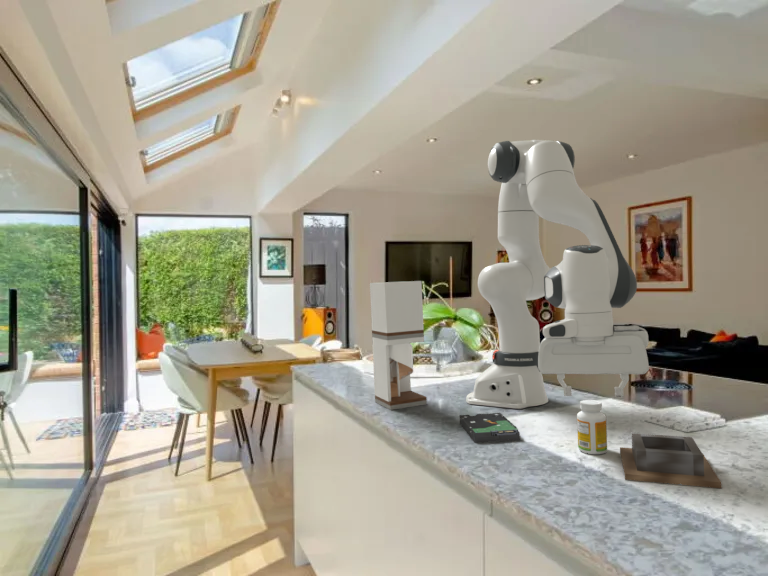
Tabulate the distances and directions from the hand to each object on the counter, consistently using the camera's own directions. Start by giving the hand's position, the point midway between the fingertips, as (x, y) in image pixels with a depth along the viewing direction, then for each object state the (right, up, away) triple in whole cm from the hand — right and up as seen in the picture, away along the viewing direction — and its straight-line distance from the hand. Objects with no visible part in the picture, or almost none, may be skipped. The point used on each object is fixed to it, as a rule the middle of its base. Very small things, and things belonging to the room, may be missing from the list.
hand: (593, 396), depth 101 cm
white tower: (-37, -12, +46) cm, 60 cm away
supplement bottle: (0, -11, +1) cm, 11 cm away
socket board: (+9, -11, -10) cm, 17 cm away
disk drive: (-17, -12, +16) cm, 27 cm away
